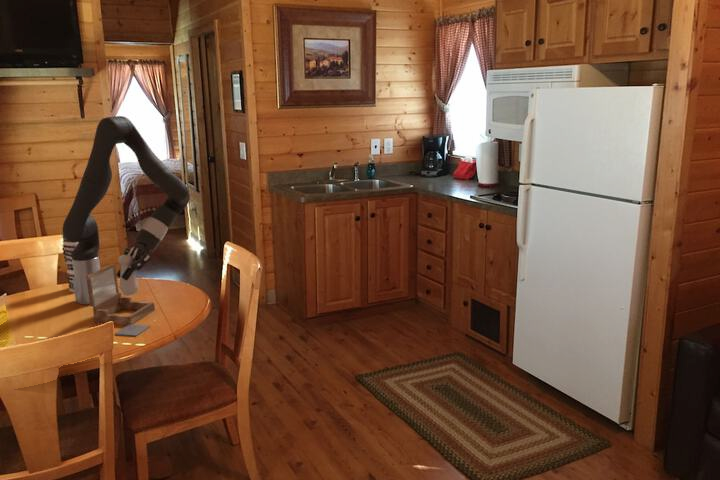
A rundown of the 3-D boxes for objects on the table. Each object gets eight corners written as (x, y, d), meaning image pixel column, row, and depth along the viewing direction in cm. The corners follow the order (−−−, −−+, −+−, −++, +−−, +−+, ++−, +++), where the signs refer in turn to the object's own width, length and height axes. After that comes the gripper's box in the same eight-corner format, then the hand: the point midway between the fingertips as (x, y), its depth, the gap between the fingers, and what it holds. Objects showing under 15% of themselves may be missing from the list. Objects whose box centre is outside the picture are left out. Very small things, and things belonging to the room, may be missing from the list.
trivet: (114, 334, 200) (114, 333, 200) (129, 325, 208) (129, 324, 208) (136, 336, 198) (136, 335, 198) (150, 327, 206) (149, 325, 206)
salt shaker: (123, 290, 203) (118, 253, 200) (140, 289, 203) (136, 252, 200) (118, 296, 197) (112, 258, 194) (136, 295, 198) (131, 257, 194)
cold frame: (92, 322, 211) (86, 276, 207) (118, 307, 225) (112, 263, 221) (131, 325, 208) (125, 278, 203) (155, 310, 221) (150, 265, 217)
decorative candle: (95, 289, 246) (86, 229, 240) (70, 293, 241) (61, 232, 235) (90, 283, 254) (82, 225, 247) (66, 287, 249) (57, 228, 242)
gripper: (132, 225, 205) (102, 268, 199) (153, 230, 195) (122, 276, 190) (149, 237, 210) (120, 279, 204) (170, 243, 201) (140, 288, 195)
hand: (121, 277), depth 197 cm, fingers closed on salt shaker, 3 cm apart
